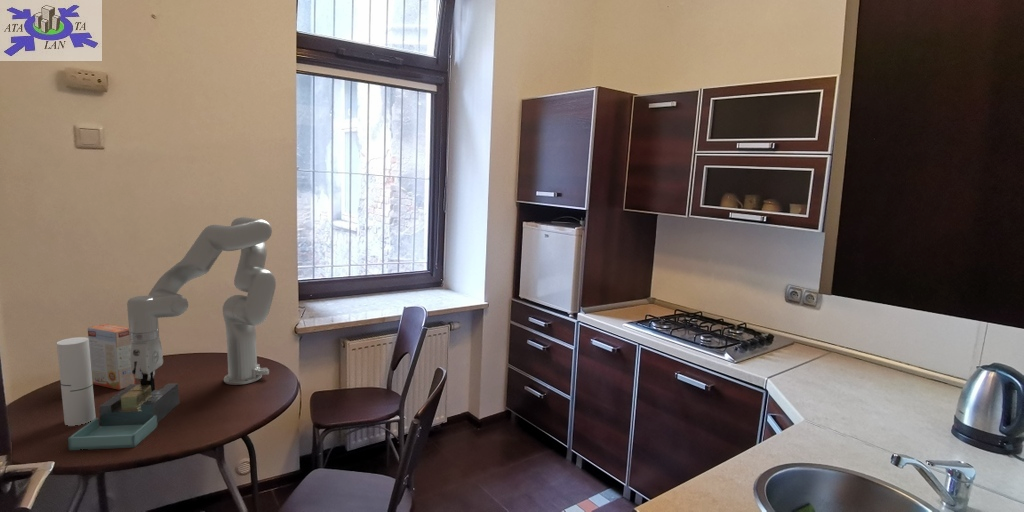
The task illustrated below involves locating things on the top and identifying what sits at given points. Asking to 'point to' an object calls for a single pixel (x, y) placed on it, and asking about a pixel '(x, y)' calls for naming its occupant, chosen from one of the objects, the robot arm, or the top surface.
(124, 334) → the cracker box
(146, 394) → the yellow wedge block
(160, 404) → the tray
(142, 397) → the yellow cube
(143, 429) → the tray
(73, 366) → the cylindrical container
